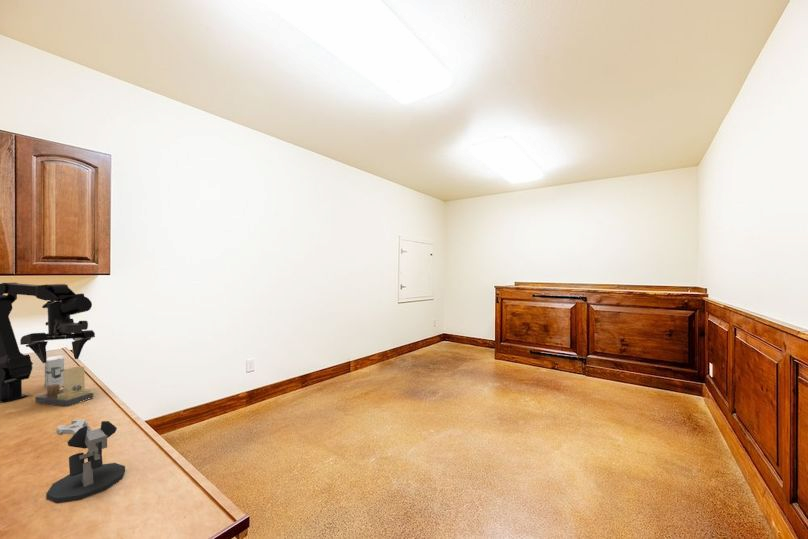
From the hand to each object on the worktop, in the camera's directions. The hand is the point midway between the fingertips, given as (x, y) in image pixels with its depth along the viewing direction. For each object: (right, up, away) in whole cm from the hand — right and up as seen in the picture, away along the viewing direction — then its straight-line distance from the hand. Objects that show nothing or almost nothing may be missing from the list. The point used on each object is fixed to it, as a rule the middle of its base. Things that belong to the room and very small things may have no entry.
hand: (61, 361), depth 121 cm
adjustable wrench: (+31, -15, -25) cm, 43 cm away
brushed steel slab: (-1, -15, +2) cm, 15 cm away
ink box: (-22, -16, +19) cm, 32 cm away
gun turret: (+51, -14, -45) cm, 69 cm away
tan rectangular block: (+4, -13, +1) cm, 13 cm away
